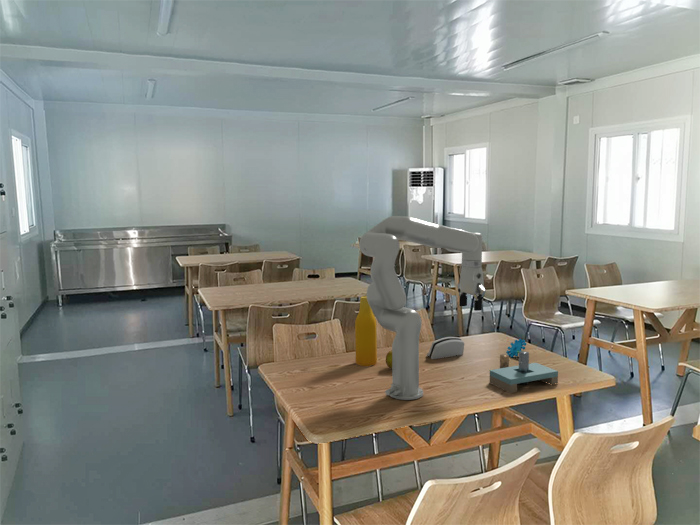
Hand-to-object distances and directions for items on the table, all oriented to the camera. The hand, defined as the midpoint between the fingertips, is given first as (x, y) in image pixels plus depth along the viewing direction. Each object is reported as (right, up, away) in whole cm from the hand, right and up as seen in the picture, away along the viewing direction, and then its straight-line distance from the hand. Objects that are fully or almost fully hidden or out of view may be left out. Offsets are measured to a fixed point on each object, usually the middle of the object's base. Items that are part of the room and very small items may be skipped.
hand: (470, 308), depth 211 cm
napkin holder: (-4, -25, +32) cm, 40 cm away
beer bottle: (-40, -26, +23) cm, 53 cm away
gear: (+27, -24, +29) cm, 47 cm away
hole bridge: (+19, -28, -6) cm, 34 cm away
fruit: (-27, -27, +15) cm, 41 cm away
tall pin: (+19, -28, -6) cm, 34 cm away
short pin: (+16, -26, +11) cm, 33 cm away
